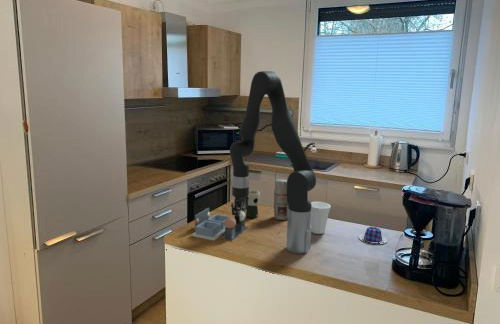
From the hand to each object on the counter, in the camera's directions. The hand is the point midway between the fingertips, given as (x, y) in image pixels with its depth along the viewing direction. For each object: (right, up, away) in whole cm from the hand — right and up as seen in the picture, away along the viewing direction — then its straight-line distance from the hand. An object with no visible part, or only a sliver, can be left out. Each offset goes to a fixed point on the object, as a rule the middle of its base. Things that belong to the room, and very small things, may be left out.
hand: (239, 221), depth 180 cm
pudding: (+59, -8, -6) cm, 60 cm away
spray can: (+20, -1, +18) cm, 27 cm away
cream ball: (0, +2, -1) cm, 3 cm away
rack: (-12, -4, -1) cm, 12 cm away
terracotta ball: (-4, +1, -10) cm, 10 cm away
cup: (+36, -5, +1) cm, 36 cm away
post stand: (-2, -5, -4) cm, 7 cm away
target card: (-17, -3, +2) cm, 18 cm away
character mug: (+6, -1, +19) cm, 20 cm away
